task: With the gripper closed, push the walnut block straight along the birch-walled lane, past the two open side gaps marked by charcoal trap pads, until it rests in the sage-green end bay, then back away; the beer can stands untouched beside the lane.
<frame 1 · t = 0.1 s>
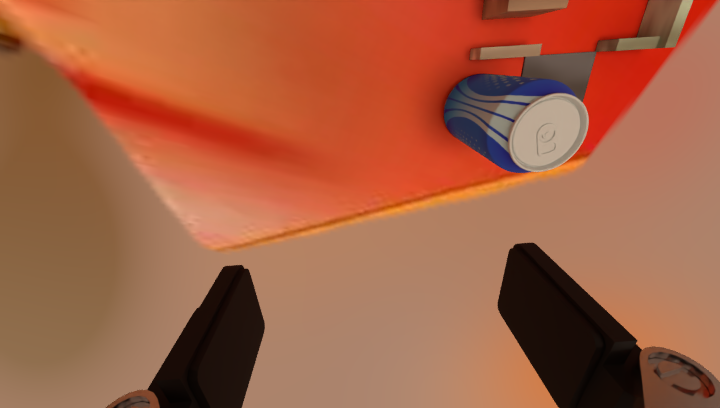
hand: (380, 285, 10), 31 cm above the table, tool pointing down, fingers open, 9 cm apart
beer can: (471, 107, 38), on the table
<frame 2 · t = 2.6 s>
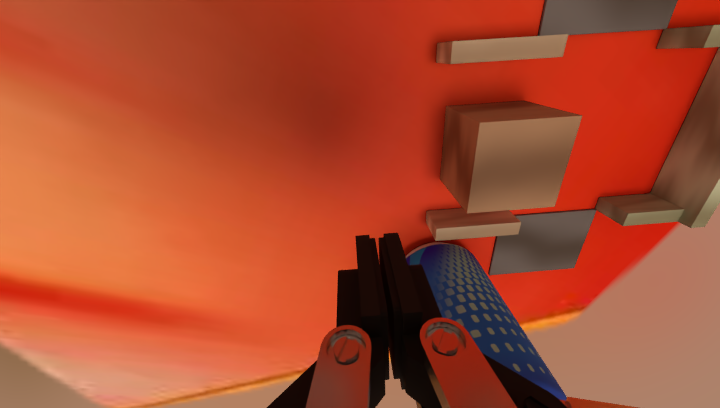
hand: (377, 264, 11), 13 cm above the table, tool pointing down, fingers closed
walnut block: (479, 141, 23), on the table
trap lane: (570, 135, 23), on the table
beer can: (431, 268, 29), on the table
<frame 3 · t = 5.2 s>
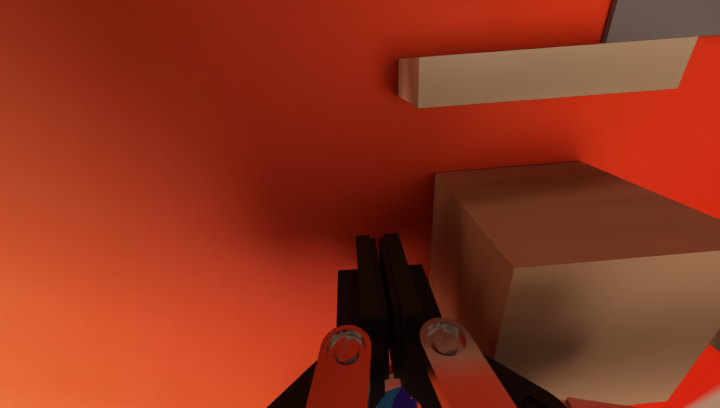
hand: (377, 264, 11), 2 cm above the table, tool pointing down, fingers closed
walnut block: (496, 229, 13), on the table, touching gripper
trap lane: (647, 215, 13), on the table
beer can: (414, 396, 19), on the table
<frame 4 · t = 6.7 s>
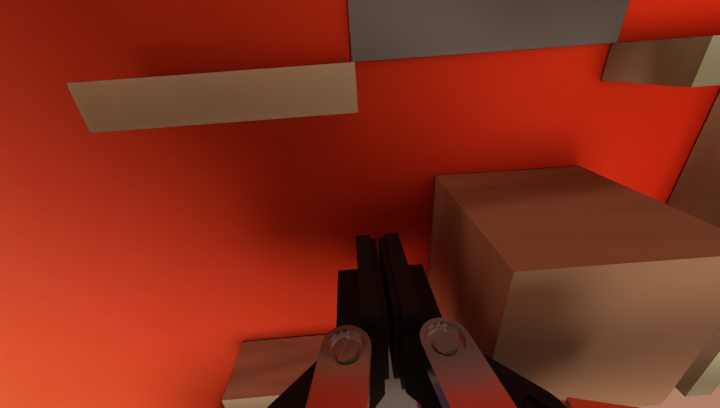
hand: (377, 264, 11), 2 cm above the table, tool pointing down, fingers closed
walnut block: (495, 232, 13), on the table, touching gripper
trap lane: (462, 230, 13), on the table
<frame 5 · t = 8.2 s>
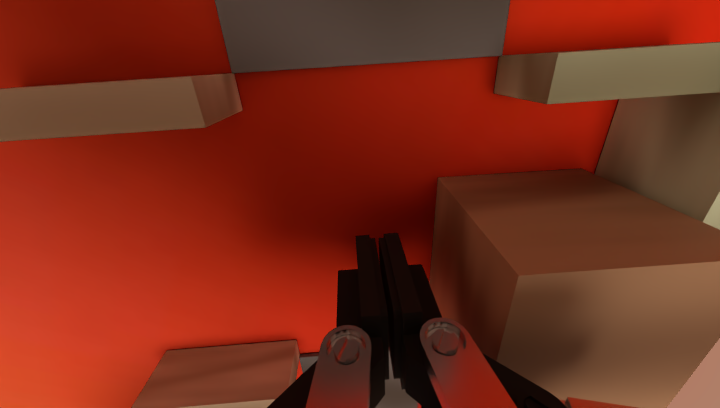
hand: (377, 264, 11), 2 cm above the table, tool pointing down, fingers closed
walnut block: (497, 234, 13), on the table, touching gripper
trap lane: (375, 241, 13), on the table
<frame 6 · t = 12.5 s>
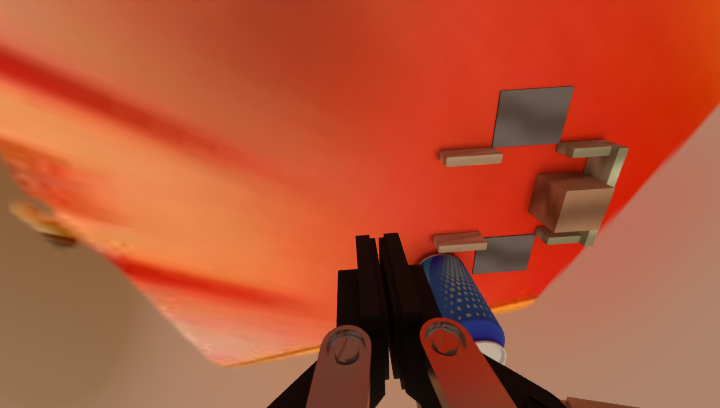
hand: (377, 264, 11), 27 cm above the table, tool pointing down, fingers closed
walnut block: (552, 191, 41), on the table
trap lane: (514, 194, 41), on the table
beer can: (436, 269, 47), on the table
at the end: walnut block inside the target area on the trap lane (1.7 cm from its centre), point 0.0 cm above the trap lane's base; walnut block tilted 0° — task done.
